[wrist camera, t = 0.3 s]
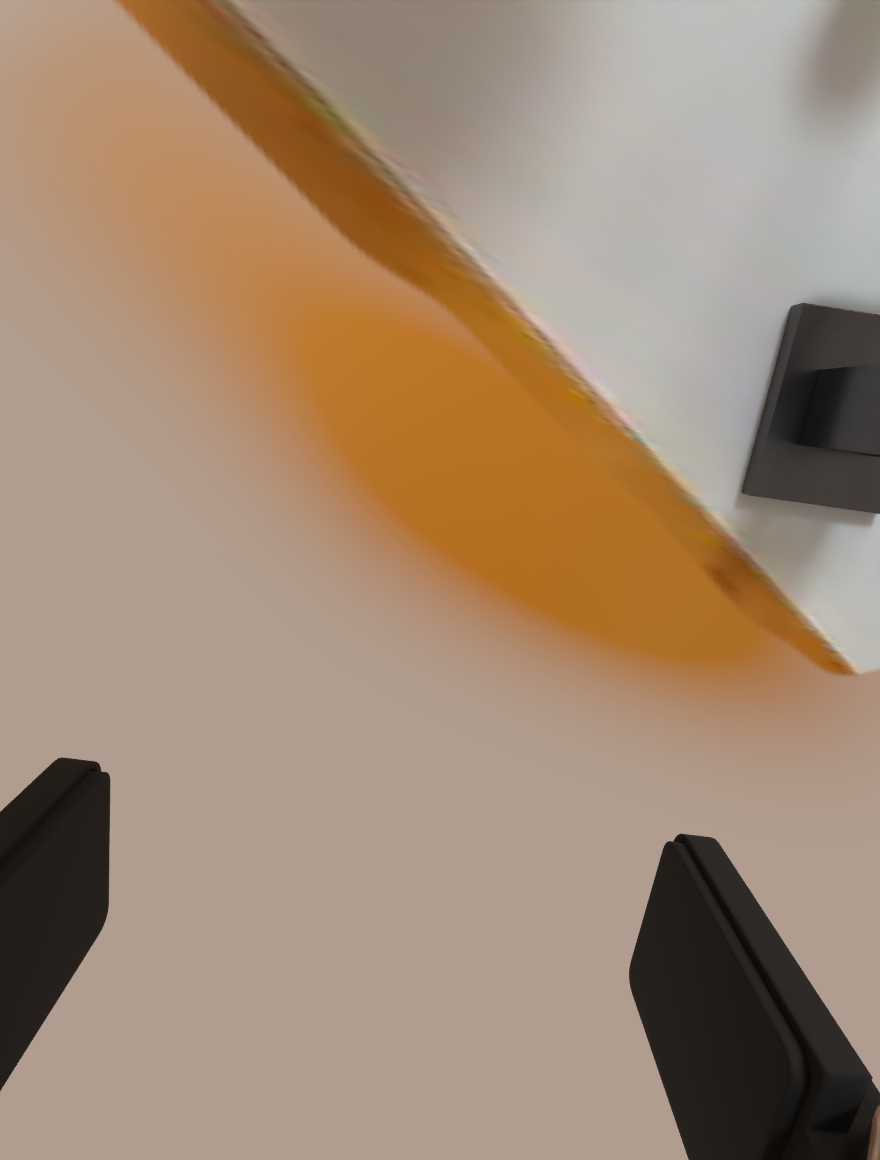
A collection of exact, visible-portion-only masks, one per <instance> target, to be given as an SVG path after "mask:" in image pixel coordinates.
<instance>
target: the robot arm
mask: <svg viewBox="0 0 880 1160" xmlns="http://www.w3.org/2000/svg"><path fill="white" fill-rule="evenodd" d="M109 831H110V776H109V774H108V773H107V772H101V767H100V765H99V763H97V762H94V761H86V760H78V759H70V758H58V759H57V760H55V761H54V762H53V763H52V764H51V765H50V766H49V767H48V768H47V769H46V770H45V771H43V772H42V773H41V774H40V775H39V776H38V777H37V778H36V779H35V780H34V781H33V782H32V783H31V784H30V785H28V786H27V787H26V788H25V789H24V790H23V791H22V792H21V793H20V794H19V795H18V796H17V797H16V798H15V799H14V800H12V801H11V802H10V803H9V804H8V805H7V806H6V807H5V808H4V809H3V810H2V811H1V812H0V1090H1V1089H2V1087H3V1086H4V1084H5V1083H6V1081H7V1079H8V1078H9V1076H10V1075H11V1073H12V1071H13V1070H14V1068H15V1067H16V1065H17V1063H18V1062H19V1060H20V1059H21V1057H22V1056H23V1054H24V1052H25V1051H26V1049H27V1048H28V1046H29V1044H30V1043H31V1041H32V1040H33V1038H34V1037H35V1035H36V1033H37V1032H38V1030H39V1029H40V1027H41V1025H42V1024H43V1022H44V1021H45V1019H46V1017H47V1016H48V1014H49V1013H50V1011H51V1010H52V1008H53V1006H54V1005H55V1003H56V1002H57V1000H58V999H59V997H60V995H61V994H62V992H63V991H64V989H65V987H66V986H67V984H68V983H69V981H70V980H71V978H72V976H73V975H74V973H75V972H76V970H77V968H78V967H79V965H80V964H81V962H82V961H83V959H84V957H85V956H86V954H87V952H88V951H89V949H90V948H91V946H92V945H93V943H94V941H95V940H96V938H97V936H98V935H99V934H100V932H101V930H102V928H103V925H104V923H105V920H106V917H107V913H108V905H109ZM629 980H630V987H631V991H632V994H633V997H634V1000H635V1003H636V1006H637V1009H638V1012H639V1015H640V1018H641V1020H642V1024H643V1027H644V1029H645V1032H646V1035H647V1038H648V1041H649V1044H650V1047H651V1050H652V1053H653V1056H654V1059H655V1062H656V1065H657V1068H658V1071H659V1074H660V1077H661V1079H662V1083H663V1085H664V1088H665V1091H666V1094H667V1097H668V1100H669V1103H670V1106H671V1109H672V1112H673V1115H674V1118H675V1120H676V1123H677V1127H678V1129H679V1132H680V1135H681V1138H682V1141H683V1144H684V1147H685V1150H686V1153H687V1156H688V1159H689V1160H880V1093H879V1091H878V1089H877V1088H876V1087H875V1085H874V1083H873V1082H872V1076H871V1075H870V1073H869V1072H868V1070H867V1068H866V1067H865V1065H864V1064H863V1062H862V1061H861V1059H860V1058H859V1056H858V1055H857V1053H856V1052H855V1050H854V1049H853V1047H852V1046H851V1044H850V1042H849V1041H848V1039H847V1038H846V1037H845V1035H844V1033H843V1032H842V1030H841V1029H840V1027H839V1026H838V1024H837V1023H836V1021H835V1020H834V1018H833V1017H832V1015H831V1014H830V1012H829V1010H828V1009H827V1007H826V1006H825V1004H824V1003H823V1002H822V1000H821V998H820V997H819V995H818V994H817V992H816V991H815V989H814V988H813V986H812V985H811V983H810V982H809V980H808V979H807V977H806V976H805V974H804V972H803V971H802V970H801V968H800V966H799V965H798V963H797V962H796V960H795V959H794V957H793V956H792V954H791V953H790V951H789V949H788V948H787V946H786V945H785V943H784V942H783V940H782V939H781V937H780V936H779V934H778V933H777V931H776V930H775V928H774V927H773V925H772V923H771V922H770V920H769V919H768V917H767V916H766V914H765V913H764V911H763V910H762V908H761V907H760V905H759V904H758V902H757V901H756V899H755V898H754V896H753V894H752V893H751V891H750V890H749V888H748V887H747V885H746V884H745V882H744V881H743V879H742V878H741V876H740V875H739V873H738V872H737V870H736V869H735V867H734V866H733V864H732V863H731V861H730V859H729V858H728V856H727V855H726V853H725V852H724V850H723V849H722V847H721V846H720V844H719V843H718V842H717V841H716V840H715V839H714V838H711V837H703V836H695V835H687V834H679V835H677V836H676V838H675V839H674V842H671V841H669V842H667V843H666V844H665V846H664V848H663V851H662V855H661V858H660V862H659V866H658V869H657V872H656V876H655V879H654V883H653V886H652V890H651V893H650V897H649V900H648V904H647V907H646V911H645V914H644V918H643V921H642V925H641V928H640V932H639V935H638V939H637V942H636V946H635V949H634V953H633V956H632V960H631V963H630V970H629Z"/></svg>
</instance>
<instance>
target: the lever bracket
mask: <svg viewBox="0 0 880 1160" xmlns="http://www.w3.org/2000/svg"><path fill="white" fill-rule="evenodd" d="M742 493H744V494H748V495H752V496H759V497H766V498H773V499H780V500H787V501H794V502H801V503H808V504H815V505H822V506H829V507H836V508H843V509H850V510H857V511H864V512H871V513H878V514H880V315H877V314H871V313H864V312H858V311H852V310H845V309H839V308H833V307H826V306H820V305H814V304H807V303H801V304H797V305H794V306H792V307H791V310H790V314H789V318H788V321H787V325H786V329H785V332H784V336H783V340H782V344H781V347H780V351H779V355H778V358H777V362H776V366H775V370H774V373H773V377H772V381H771V385H770V388H769V392H768V396H767V399H766V403H765V407H764V411H763V414H762V418H761V422H760V426H759V429H758V433H757V437H756V440H755V444H754V448H753V452H752V455H751V459H750V463H749V467H748V470H747V474H746V478H745V481H744V485H743V489H742Z"/></svg>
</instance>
